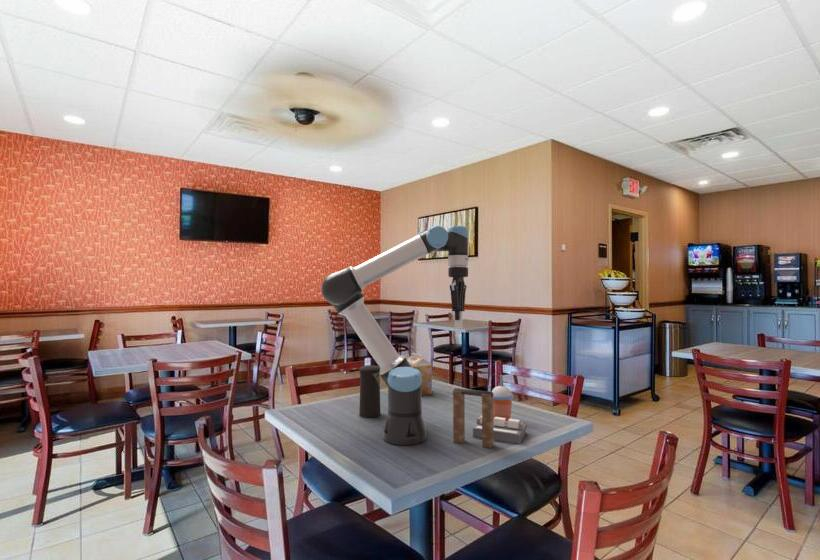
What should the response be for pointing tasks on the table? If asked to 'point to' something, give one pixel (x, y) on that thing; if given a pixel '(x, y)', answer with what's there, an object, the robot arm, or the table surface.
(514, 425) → the breaker paddles
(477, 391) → the dark grey rod
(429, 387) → the milk carton
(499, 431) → the breaker panel
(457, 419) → the posts
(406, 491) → the table surface
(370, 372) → the container
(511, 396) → the cup with straw
